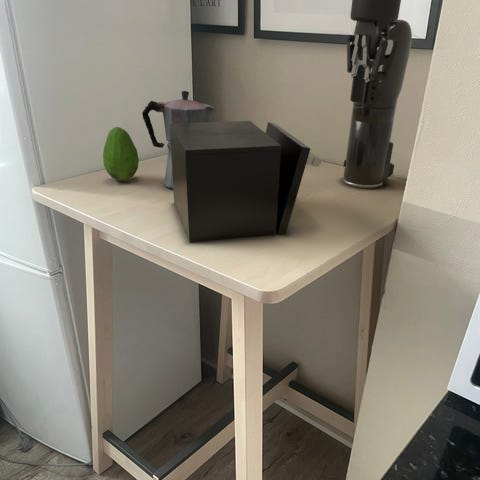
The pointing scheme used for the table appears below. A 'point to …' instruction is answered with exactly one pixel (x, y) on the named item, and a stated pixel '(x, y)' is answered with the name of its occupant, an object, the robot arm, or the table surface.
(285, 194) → the oven door
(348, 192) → the table surface
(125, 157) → the avocado
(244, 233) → the oven
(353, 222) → the table surface
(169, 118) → the moka pot
